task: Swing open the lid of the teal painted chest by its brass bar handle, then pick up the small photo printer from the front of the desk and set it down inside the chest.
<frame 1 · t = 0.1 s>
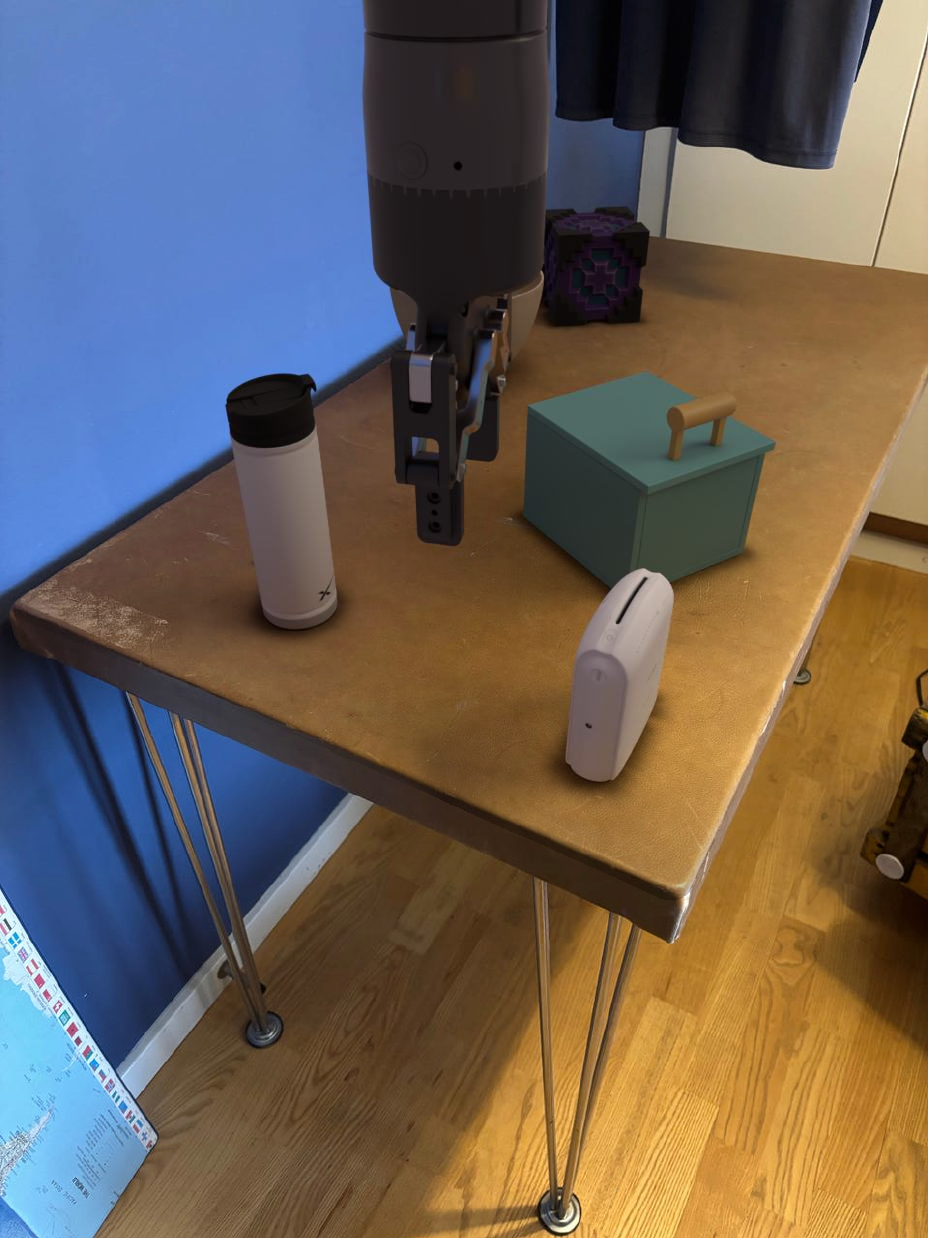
hand: (460, 496, 48), 22 cm above the table, tool pointing down, fingers open, 8 cm apart
photo printer: (611, 735, 65), on the table
travel mug: (303, 608, 77), on the table
lid: (650, 402, 76), point 14 cm above the table, hinge at 0.0°
beige bowl: (466, 374, 114), on the table
energy cube: (587, 309, 130), on the table
chest: (629, 534, 85), on the table
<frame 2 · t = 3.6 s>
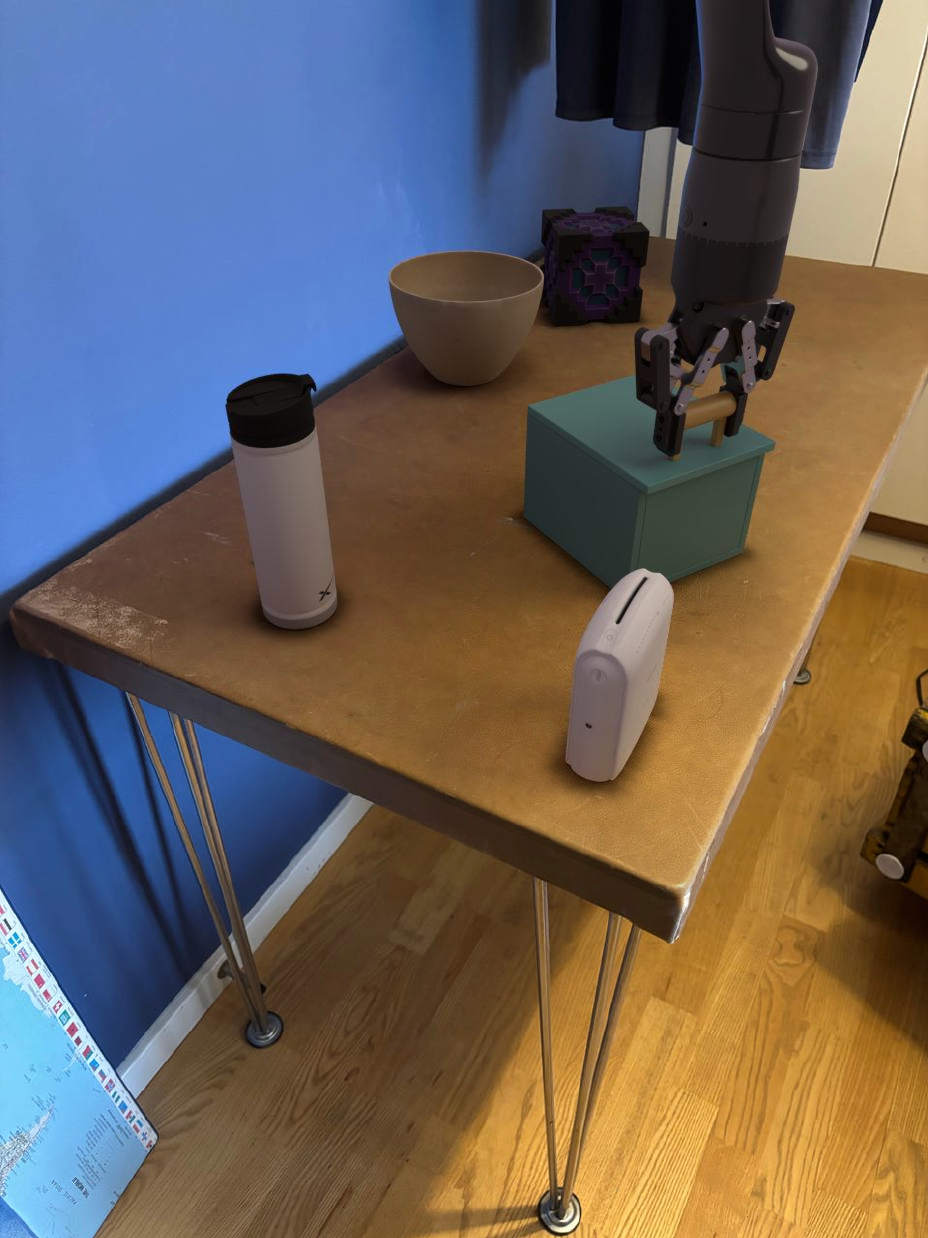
hand: (696, 441, 73), 13 cm above the table, tool pointing down, fingers closed on lid, 5 cm apart
lid: (650, 402, 76), point 13 cm above the table, hinge at -0.1°, touching gripper
everything else where it was.
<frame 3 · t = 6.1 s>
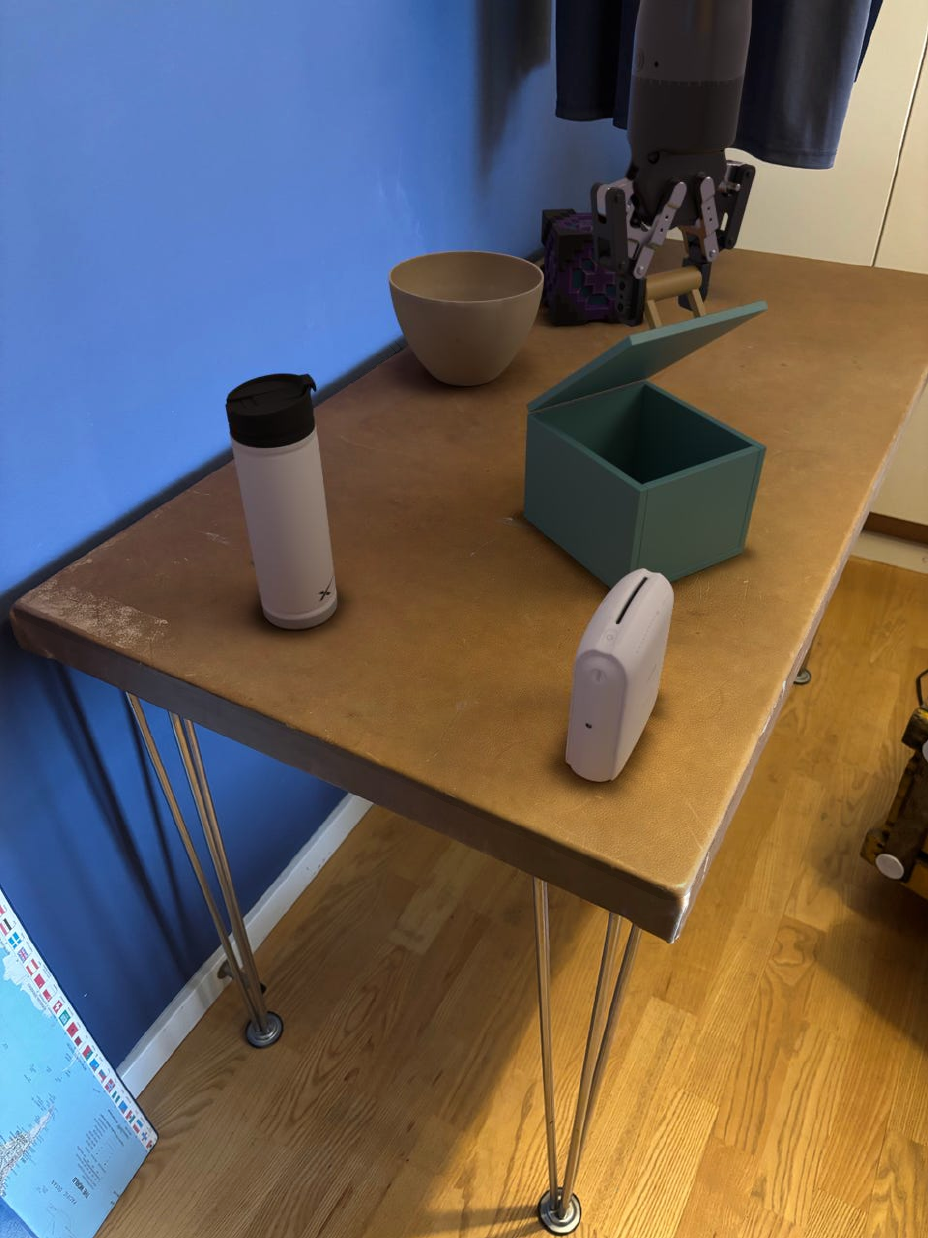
hand: (660, 314, 72), 21 cm above the table, tool pointing down, fingers closed on lid, 5 cm apart
lid: (630, 334, 76), point 18 cm above the table, hinge at 40.0°, touching gripper
everything else where it was.
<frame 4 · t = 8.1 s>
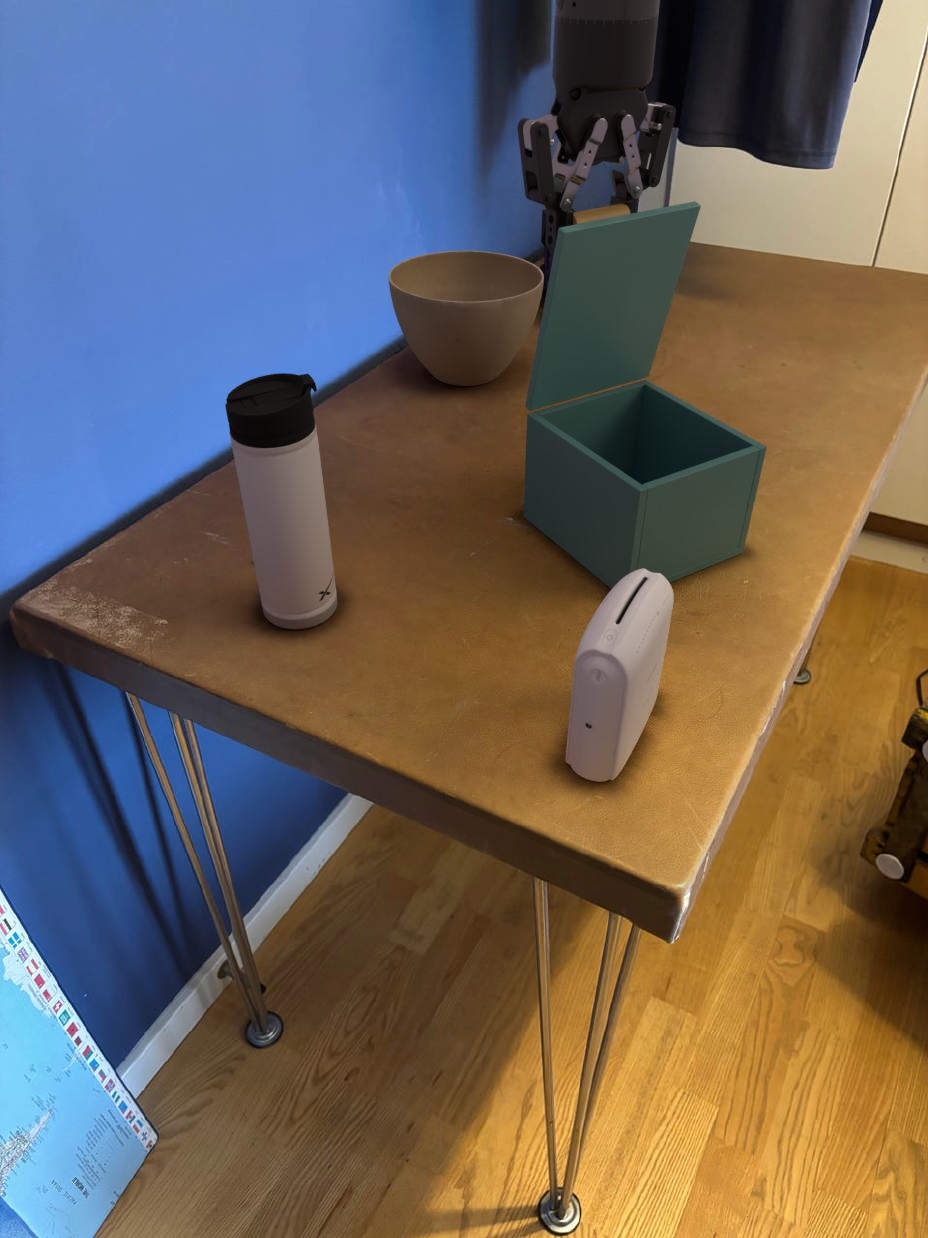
hand: (589, 249, 77), 23 cm above the table, tool pointing down, fingers closed on lid, 5 cm apart
lid: (593, 297, 78), point 20 cm above the table, hinge at 77.5°, touching gripper
everything else where it was.
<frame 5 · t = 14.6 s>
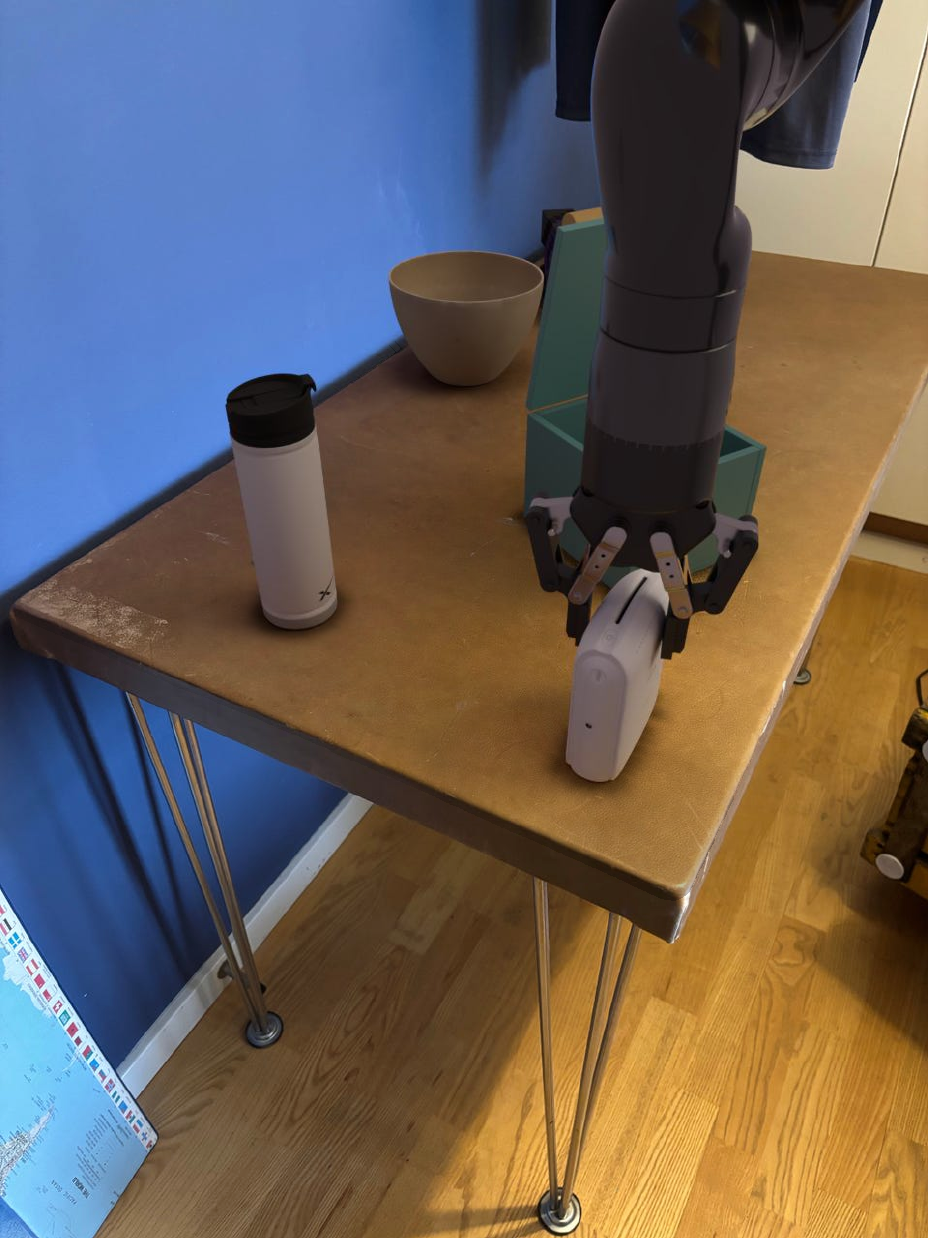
hand: (624, 644, 60), 8 cm above the table, tool pointing down, fingers closed on photo printer, 5 cm apart
photo printer: (612, 735, 65), on the table, touching gripper
lid: (592, 296, 78), point 20 cm above the table, hinge at 78.1°
everything else where it was.
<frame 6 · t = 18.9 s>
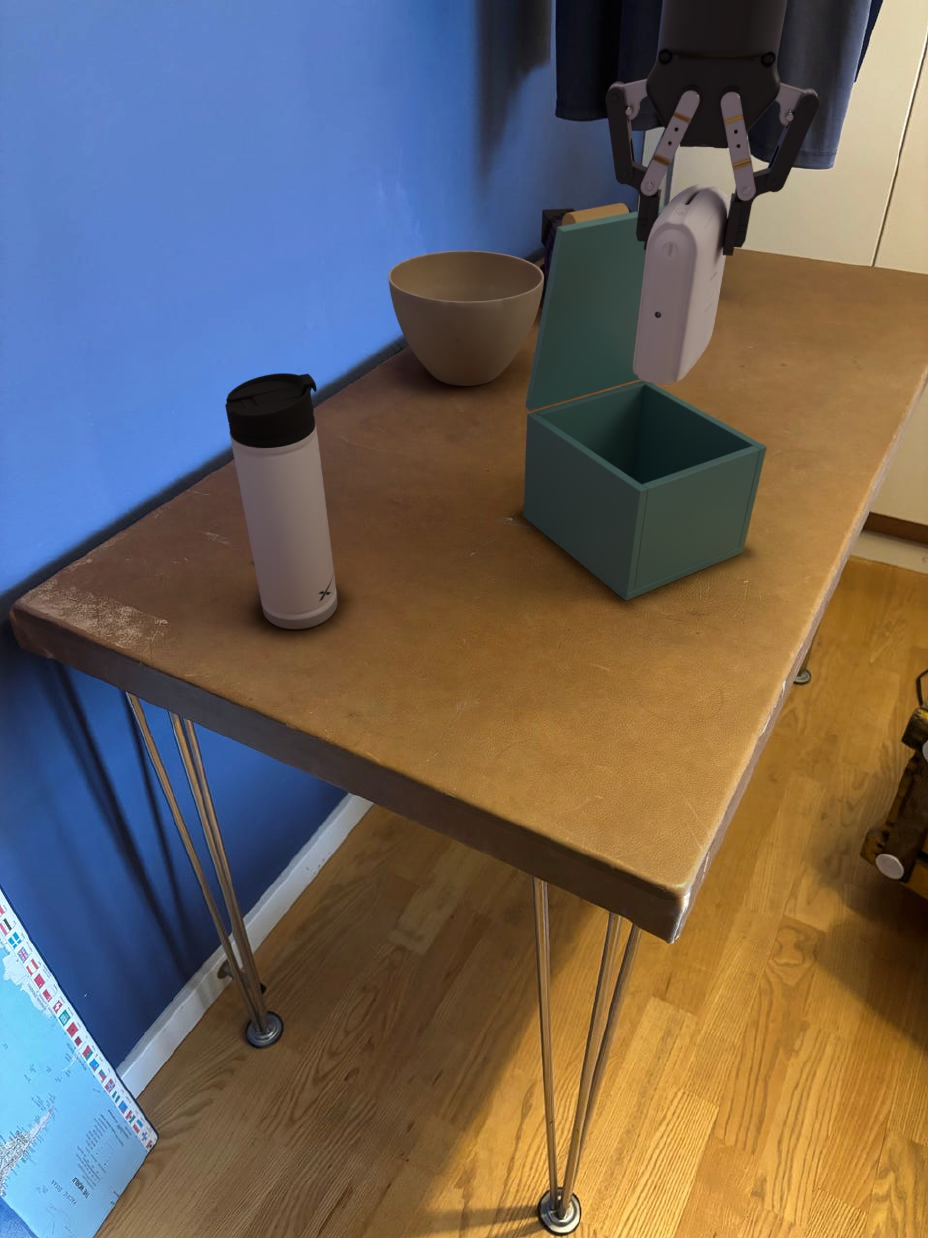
hand: (688, 248, 66), 27 cm above the table, tool pointing down, fingers closed on photo printer, 5 cm apart
photo printer: (672, 362, 71), point 18 cm above the table, touching gripper
everything else where it was.
when the fingers open (9 cm above the table, at t = 23.4 s): photo printer stays where it is, resting on chest.
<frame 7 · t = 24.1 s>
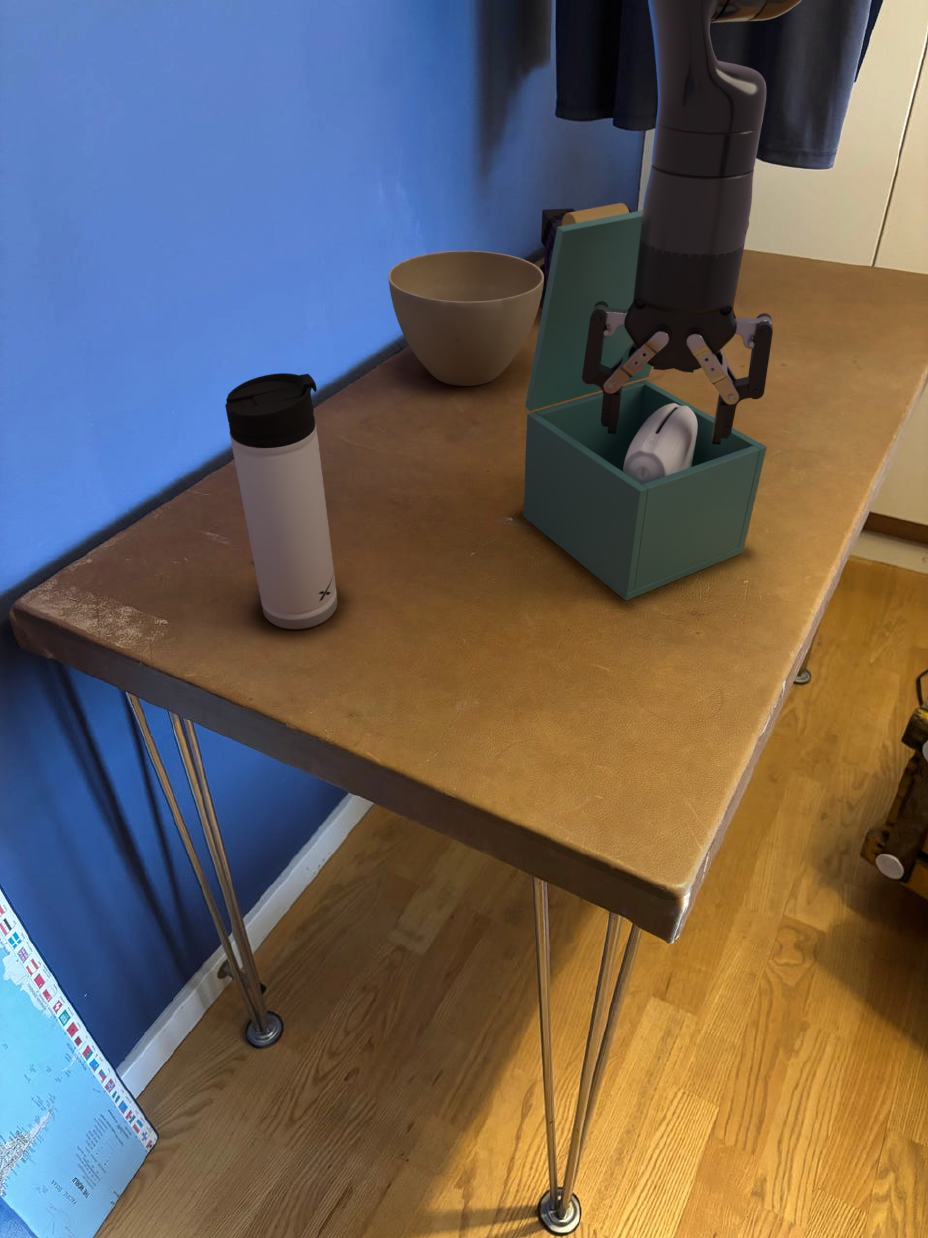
hand: (664, 435, 76), 11 cm above the table, tool pointing down, fingers open, 8 cm apart
photo printer: (648, 542, 83), point 1 cm above the table, touching chest
everything else where it was.
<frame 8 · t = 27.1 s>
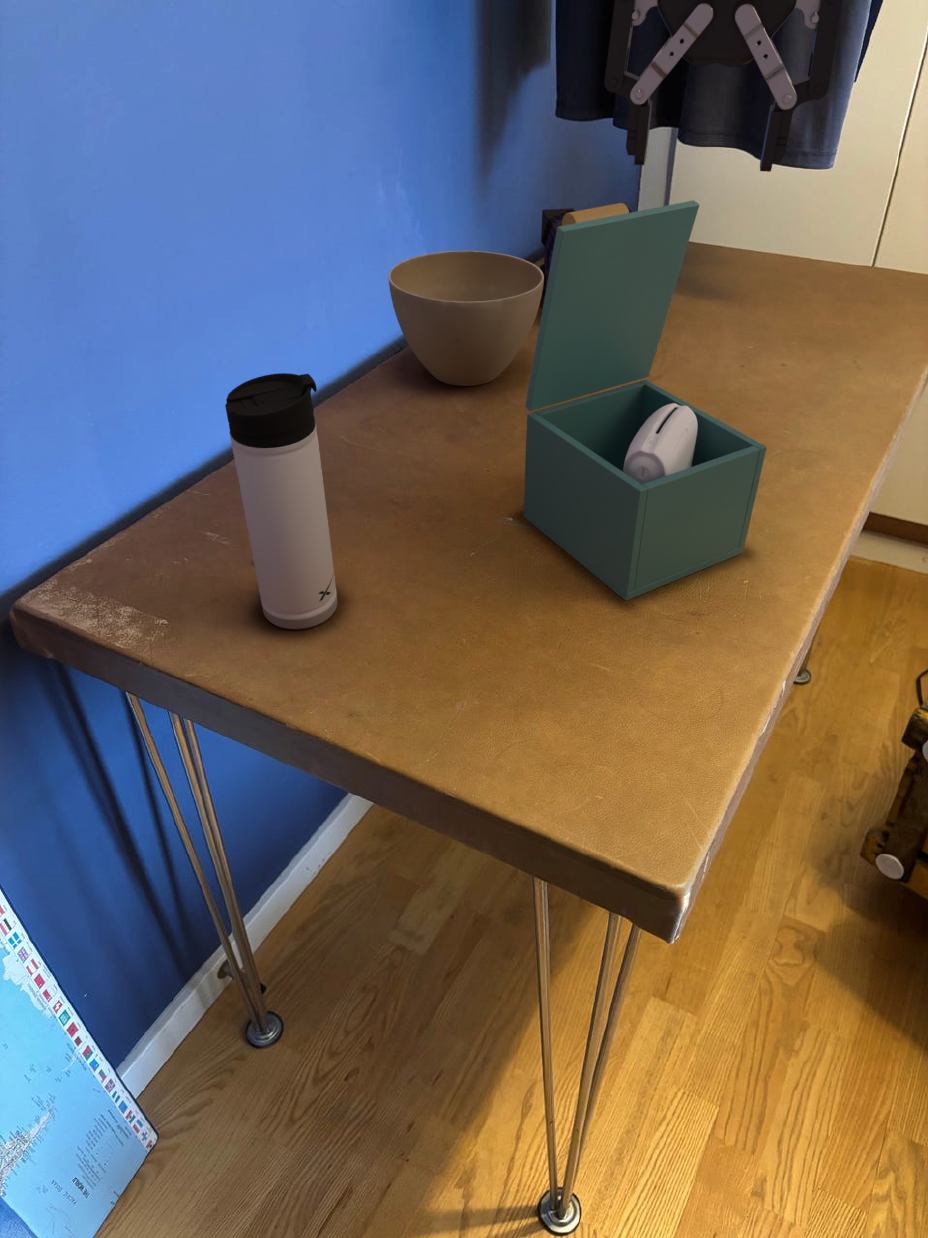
hand: (702, 165, 63), 32 cm above the table, tool pointing down, fingers open, 8 cm apart
nothing on the table moved.
at the end: lid at +78° (first picture: +0°); photo printer inside the target area in the chest (2.7 cm from its centre), point 0.6 cm above the chest's base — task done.
